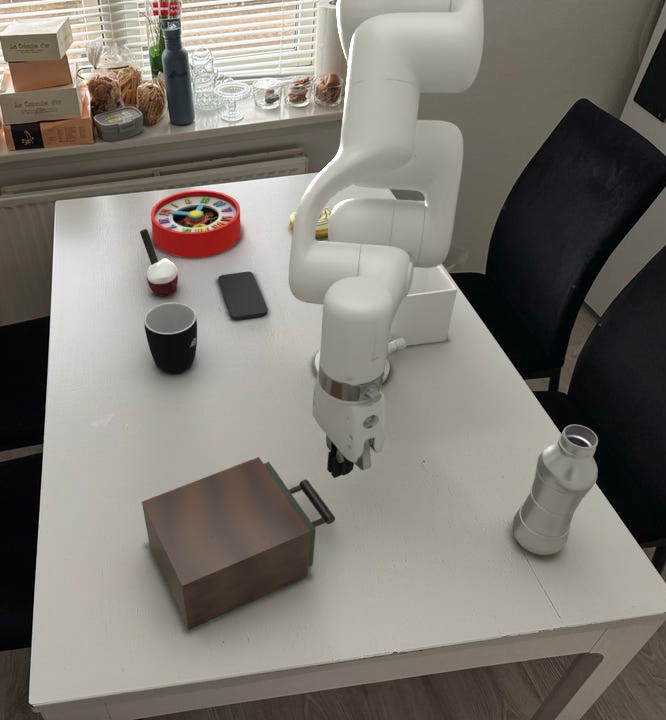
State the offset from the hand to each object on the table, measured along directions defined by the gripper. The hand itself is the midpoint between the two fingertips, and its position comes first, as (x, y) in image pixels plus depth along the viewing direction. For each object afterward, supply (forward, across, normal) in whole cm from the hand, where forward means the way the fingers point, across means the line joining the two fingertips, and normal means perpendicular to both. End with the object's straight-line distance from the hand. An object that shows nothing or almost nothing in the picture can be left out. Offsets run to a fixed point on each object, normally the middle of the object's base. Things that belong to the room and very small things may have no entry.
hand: (339, 470), depth 94 cm
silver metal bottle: (+6, -18, -19) cm, 27 cm away
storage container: (+8, +34, -34) cm, 49 cm away
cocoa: (+8, +60, +2) cm, 61 cm away
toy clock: (+9, +77, -13) cm, 79 cm away
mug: (+7, +39, +8) cm, 41 cm away
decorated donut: (+9, +66, -37) cm, 76 cm away
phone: (+8, +50, -10) cm, 52 cm away
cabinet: (+6, -2, +19) cm, 20 cm away
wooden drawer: (+5, -3, +15) cm, 16 cm away
